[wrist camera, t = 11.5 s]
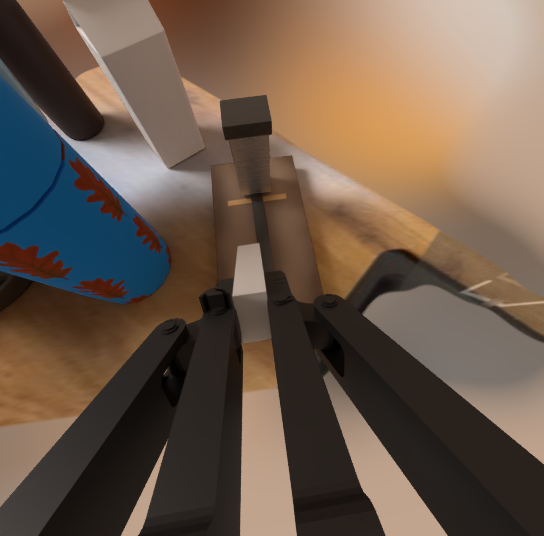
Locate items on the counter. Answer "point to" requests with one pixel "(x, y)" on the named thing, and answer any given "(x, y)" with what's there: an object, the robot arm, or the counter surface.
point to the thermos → (68, 216)
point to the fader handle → (249, 141)
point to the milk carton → (140, 72)
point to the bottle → (45, 74)
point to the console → (266, 227)
